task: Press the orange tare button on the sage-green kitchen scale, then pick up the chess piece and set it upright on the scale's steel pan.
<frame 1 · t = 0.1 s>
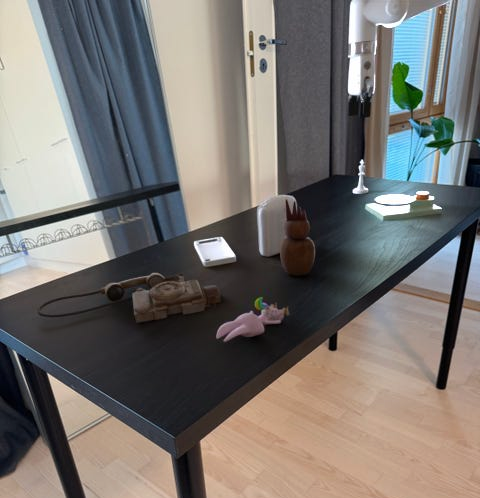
hand: (358, 116, 128), 22 cm above the table, tool pointing down, fingers open, 9 cm apart
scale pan: (392, 212, 114), resting on scale
scale: (401, 211, 114), on the table
tare button: (422, 196, 113), point 4 cm above the table, slide at 0.1 cm
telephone: (135, 306, 79), on the table
wooden figurine: (297, 273, 85), on the table
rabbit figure: (254, 334, 66), on the table
chess piece: (360, 192, 136), on the table
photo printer: (278, 250, 97), on the table
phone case: (214, 254, 99), on the table
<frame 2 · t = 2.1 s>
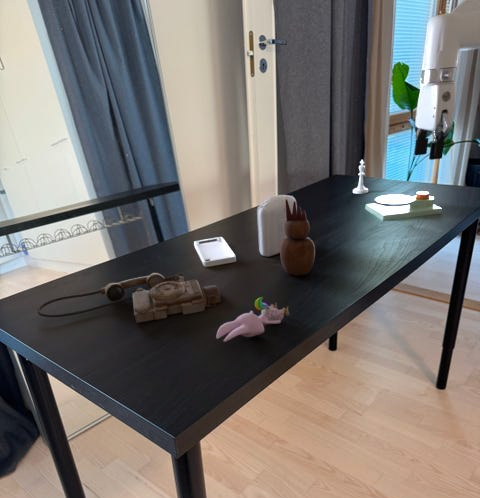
hand: (427, 156, 108), 14 cm above the table, tool pointing down, fingers open, 6 cm apart
nothing on the table moved.
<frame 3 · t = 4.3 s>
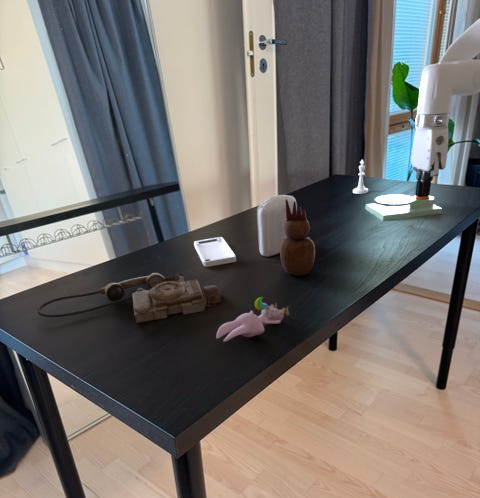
hand: (422, 195, 113), 4 cm above the table, tool pointing down, fingers closed
tare button: (422, 199, 113), point 3 cm above the table, slide at -0.7 cm, touching gripper
everything else where it was.
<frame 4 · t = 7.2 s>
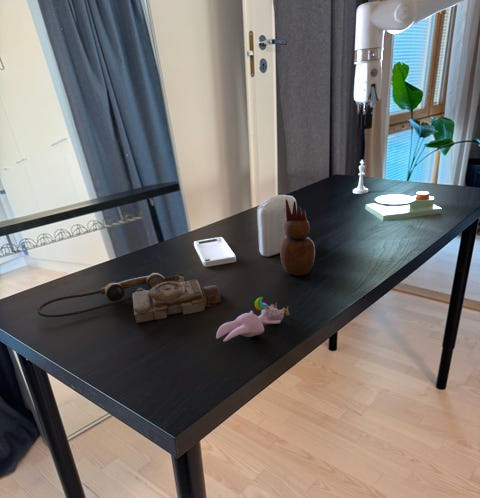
hand: (364, 127, 126), 19 cm above the table, tool pointing down, fingers closed
tare button: (422, 196, 113), point 4 cm above the table, slide at 0.1 cm
everything else where it was.
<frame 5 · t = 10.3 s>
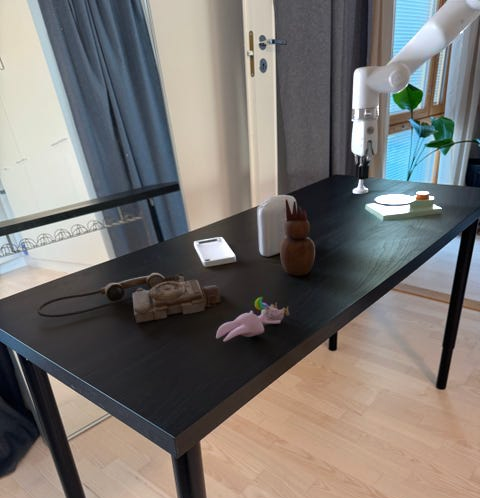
hand: (361, 177, 133), 5 cm above the table, tool pointing down, fingers closed on chess piece
chess piece: (360, 192, 136), on the table, touching gripper
everything else where it was.
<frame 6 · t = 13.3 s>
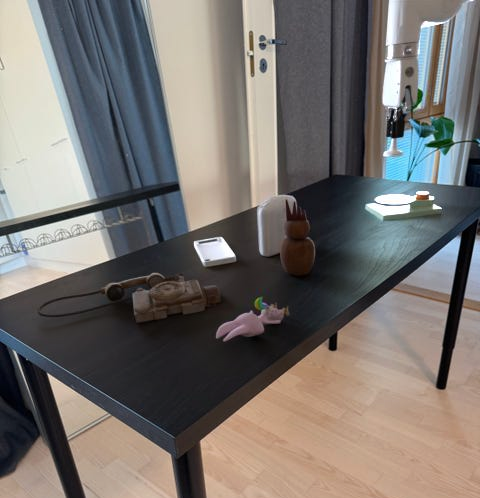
hand: (394, 136, 108), 19 cm above the table, tool pointing down, fingers closed on chess piece
chess piece: (392, 156, 110), point 14 cm above the table, touching gripper
everything else where it was.
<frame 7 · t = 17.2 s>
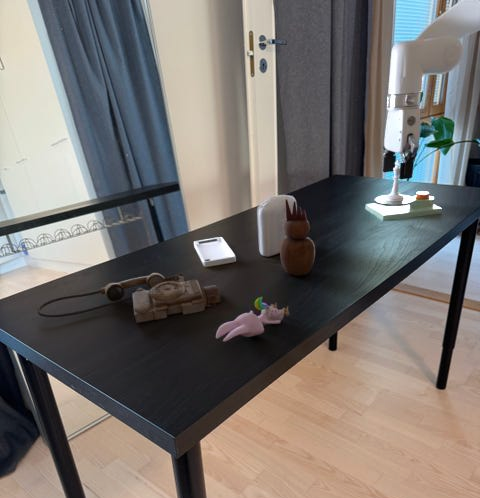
hand: (396, 174, 109), 10 cm above the table, tool pointing down, fingers open, 9 cm apart
chess piece: (394, 199, 112), point 3 cm above the table, touching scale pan
everything else where it was.
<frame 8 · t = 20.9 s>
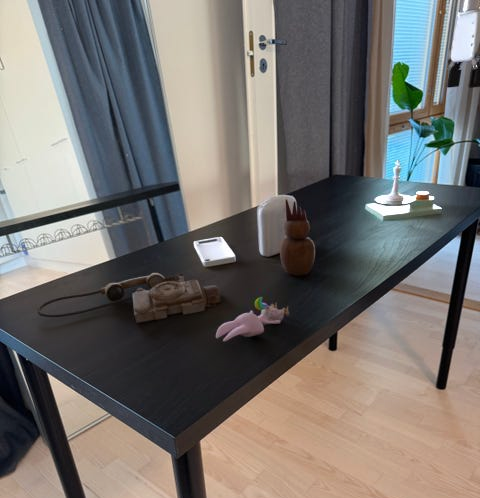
hand: (463, 87, 109), 28 cm above the table, tool pointing down, fingers open, 9 cm apart
nothing on the table moved.
at the end: tare button pushed in 0.9 cm at the most during the clip, back to where it started at the end; chess piece 0.1 cm off-centre on the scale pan, point 3.4 cm above the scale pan's base; chess piece tilted 0° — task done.
